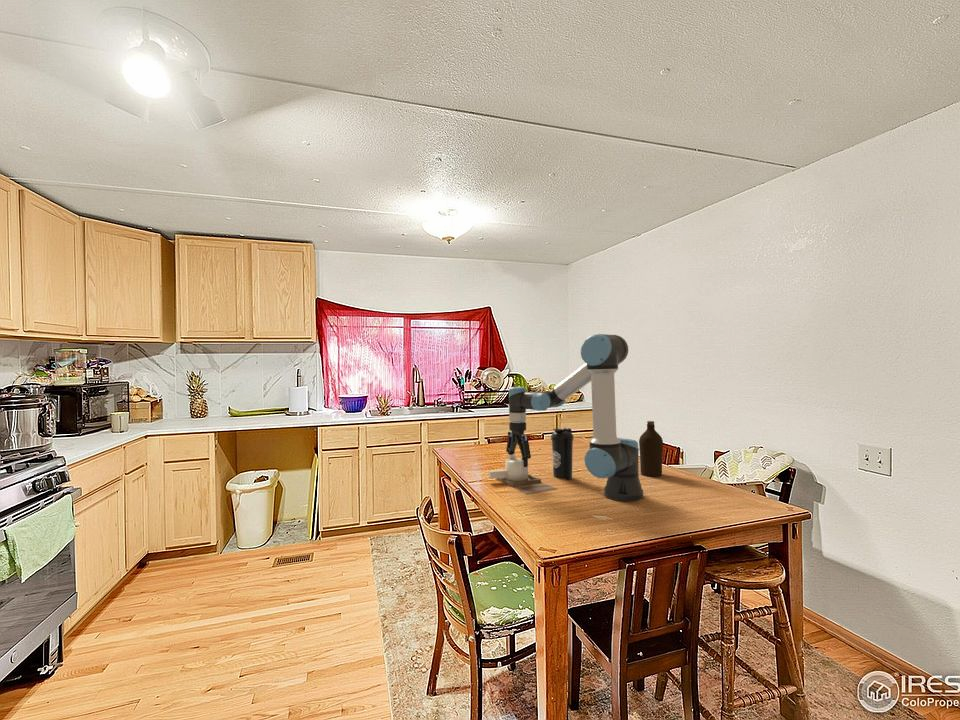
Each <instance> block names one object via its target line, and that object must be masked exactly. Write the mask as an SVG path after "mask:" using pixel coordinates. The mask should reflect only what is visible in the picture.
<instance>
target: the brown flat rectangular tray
mask: <svg viewBox="0 0 960 720" xmlns="http://www.w3.org/2000/svg"><path fill="white" fill-rule="evenodd" d="M496 480H497V481H499V482H501V483H503V484H505V485H507V486H509V487H511V488H513V489H516V490H517V491H519V492H521V493H523V494H526V495H533V494H539V493H544V492H545V493H546V492H550V491H555V490H558V488H556V487H553V486H552V485H549V484H547V483H544V482H542V479H541V478H539V477H537V476H535V475H532V474H529V473H528V481H521V482H515V483H513V482H511V481H509V480H507V479H506V478H496Z"/></svg>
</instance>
